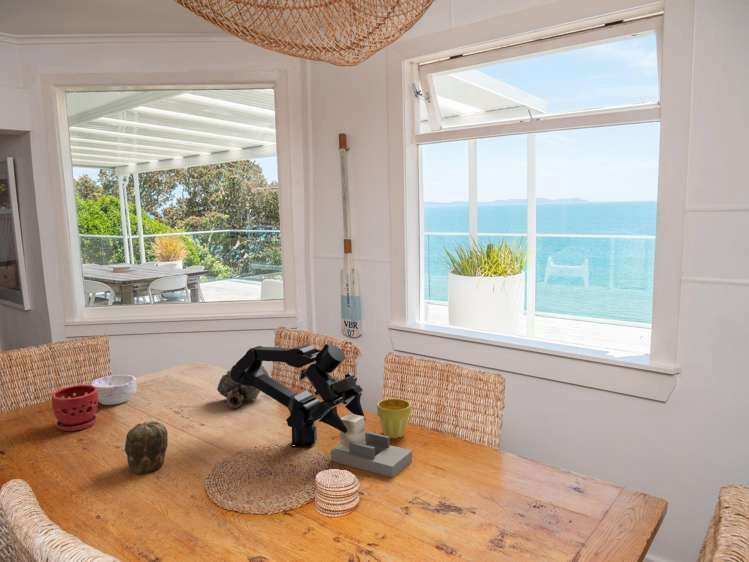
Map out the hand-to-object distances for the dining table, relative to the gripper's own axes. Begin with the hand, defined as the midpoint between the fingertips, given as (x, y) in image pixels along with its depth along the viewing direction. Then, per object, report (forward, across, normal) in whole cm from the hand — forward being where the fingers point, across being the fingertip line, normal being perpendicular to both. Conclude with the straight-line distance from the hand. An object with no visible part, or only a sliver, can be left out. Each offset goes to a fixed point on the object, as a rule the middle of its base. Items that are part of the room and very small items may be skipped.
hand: (355, 426), depth 151 cm
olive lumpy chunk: (-26, -33, +39) cm, 58 cm away
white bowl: (-66, -5, +79) cm, 103 cm away
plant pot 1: (-58, -26, +71) cm, 95 cm away
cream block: (+3, 0, +5) cm, 6 cm away
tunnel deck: (+10, 0, +2) cm, 10 cm away
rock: (-36, +16, +49) cm, 63 cm away
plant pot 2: (+8, +19, +5) cm, 21 cm away
